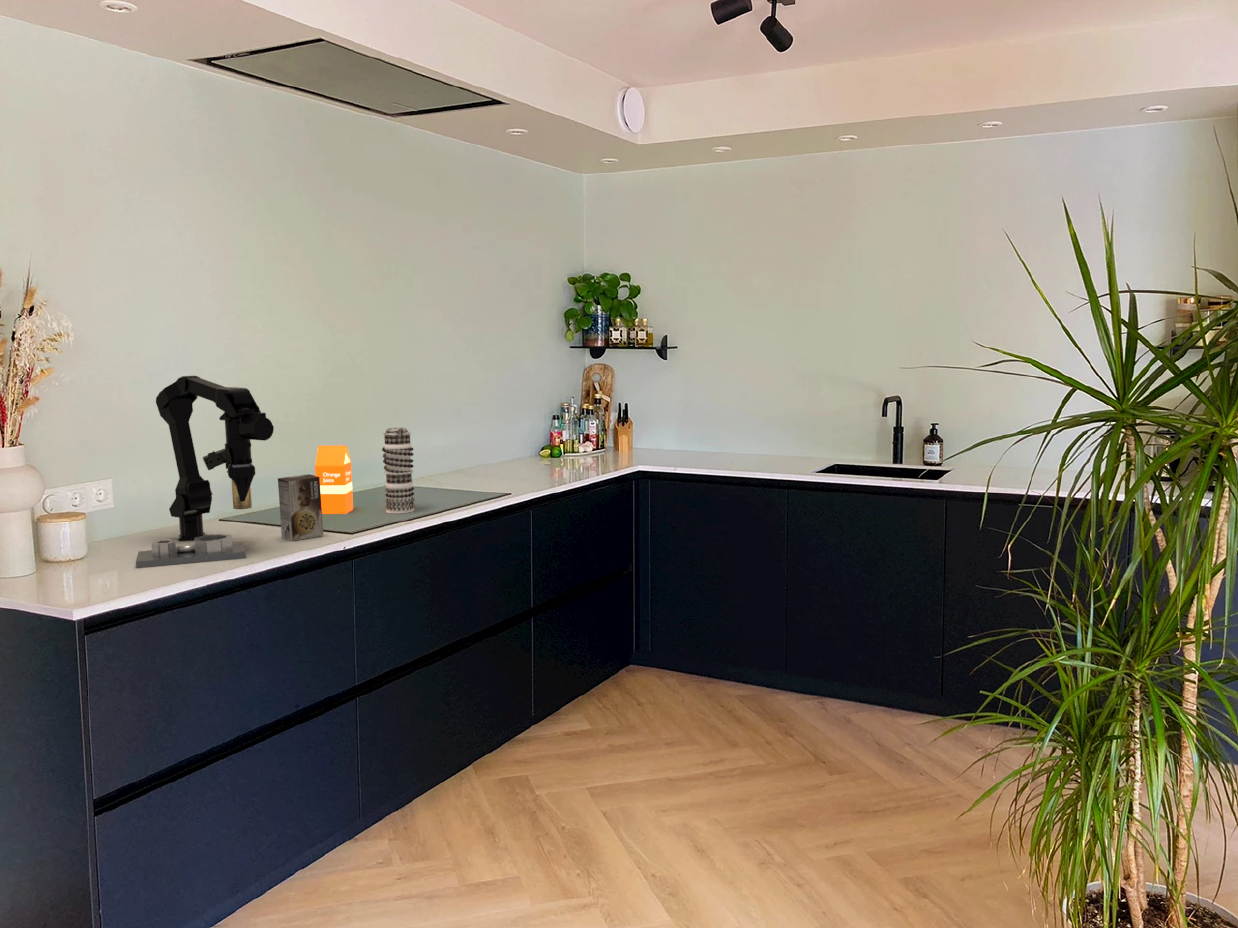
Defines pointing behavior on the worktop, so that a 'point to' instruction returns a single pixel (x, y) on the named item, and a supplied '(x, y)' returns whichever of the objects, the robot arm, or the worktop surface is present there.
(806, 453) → the worktop surface
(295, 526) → the coffee box
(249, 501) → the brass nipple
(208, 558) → the manifold
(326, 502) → the orange juice
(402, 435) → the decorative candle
